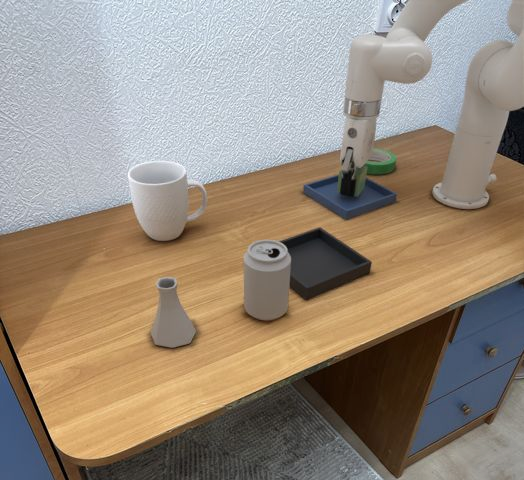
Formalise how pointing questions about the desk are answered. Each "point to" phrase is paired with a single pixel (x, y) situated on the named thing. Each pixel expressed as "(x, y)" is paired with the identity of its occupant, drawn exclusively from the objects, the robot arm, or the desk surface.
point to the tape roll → (385, 164)
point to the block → (359, 178)
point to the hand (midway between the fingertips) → (351, 189)
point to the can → (266, 279)
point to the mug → (162, 198)
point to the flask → (171, 317)
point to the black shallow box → (322, 262)
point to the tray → (347, 205)
